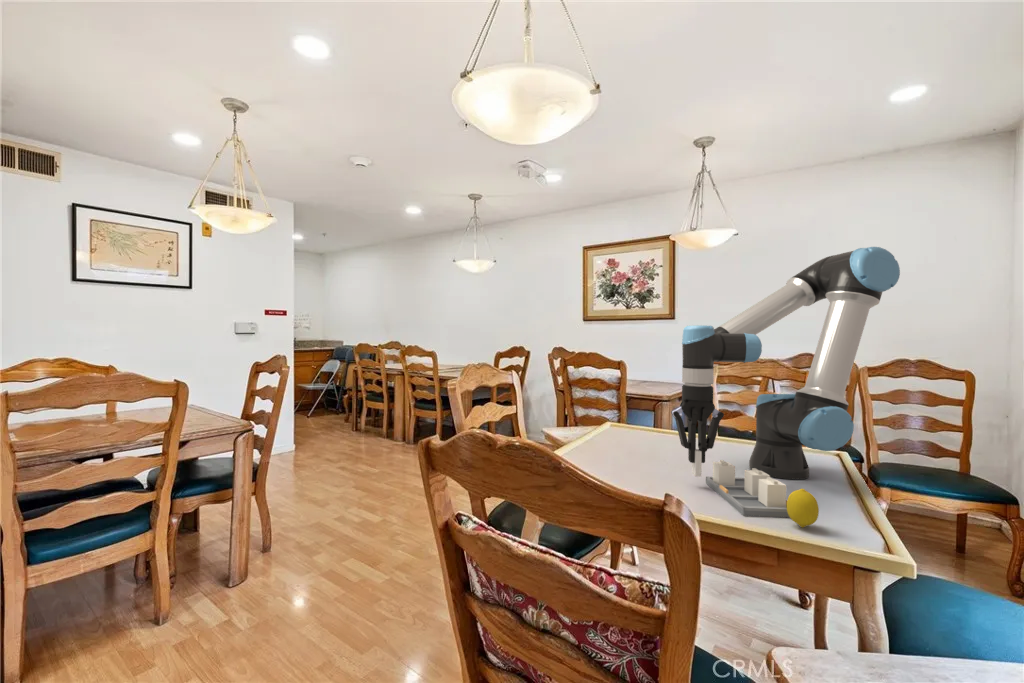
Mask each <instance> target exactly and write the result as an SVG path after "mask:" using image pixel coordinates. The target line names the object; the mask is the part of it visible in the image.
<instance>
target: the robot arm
mask: <svg viewBox="0 0 1024 683" xmlns="http://www.w3.org/2000/svg"><path fill="white" fill-rule="evenodd" d="M900 269H901V268H900V264H899V262H898V260H896V258H895V255H894V254H893V253H891V252H890V251H889V250H887V249H886V248H883V247H880V246H868V247H859V248H857V249H855V250H850V251H847V252H842V253H838V254H834V255H830V256H827V257H826V256H825V257H824V258H822V259H819V260H818V261H816V262H814V263H812V264H810V266H808V267H806V268H804V269H803V270H801V271H799V272H798V273H796V274H795V275H793V276H792V277H790V278H789V279H787V281H786V283H785V285H784V286H782V287H781V288H779V289H777V290H775V291H774V292H773V293H771V294H769V295H767V296H766V297H764V298H763V299H762V300H760V301H757V302H756V303H755V304H753V305H752V306H750V307H749V308H746V309H745V310H744V311H742V312H740V313H738V314H737V315H735V316H734V317H732V318H730V319H728V320H727V321H725V322H724V323H723V324H721V325H719V326H717V327H716V328H715V327H714V326H713V325H708V324H707V325H702V324H701V325H698V324H697V325H693V324H692V325H686V326H685V327H683V329H682V341H681V344H682V345H681V346H682V369H681V370H682V371H681V373H682V374H681V375H682V376H681V377H682V379H681V380H682V381H681V382H682V383H683V384H682V385H681V402H680V404H679V407H678V408H676V409H672V410H671V411H670V413H671V415H672V416H673V418H674V420H675V426H676V429H677V432H678V438H679V440H680V441H679V442H680V445H681V446H682V447H683V448H685V449H688V450H687V451H688V452H687V454H688V461H689V463H691V474H692V475H693V476H694V477H697V478H700V477H702V464H704V463H705V462H706V452H707V451H708V450H712V449H713V448H714V446H715V442H716V438H717V433H718V430H719V426H720V422H721V421H722V419H723V418H724V416H725V414H724V412H722V411H720V410H718V409H717V408H716V406H715V404H714V387H713V384H714V366H715V365H714V363H720V362H721V363H744V364H745V363H753V362H756V361H758V360H759V359H760V357H761V354H762V353H763V349H762V348H763V344H762V341H761V338H760V337H759V335H757V334H759V333H761V332H762V331H764V330H766V329H767V328H769V327H770V326H772V325H774V324H776V323H778V322H779V321H781V320H782V319H783V318H785V317H787V316H790V315H791V314H792V313H794V312H796V311H797V310H798V309H800V308H802V307H803V306H804V307H810V306H812V305H813V304H815V303H817V302H820V301H823V300H824V299H827V300H828V302H829V306H828V309H827V312H826V316H825V318H824V321H823V322H824V323H823V324H822V329H821V332H820V335H819V339H818V342H817V346H816V349H815V351H814V354H813V359H812V361H811V365H810V368H809V372H808V374H807V378H806V382H805V384H804V386H803V387H802V388H800V389H797V390H796V392H795V393H761V394H759V395H758V396H757V398H756V403H755V404H756V405H755V408H756V409H755V410H756V412H755V413H756V416H755V417H756V420H755V421H756V422H755V423H756V424H755V425H756V427H755V430H756V431H755V433H756V434H755V445H754V448H753V451H752V452H751V456H750V458H749V462H748V468H749V470H752V468H756V469H757V470H759V471H763V472H765V473H766V474H768V475H770V477H771V478H777V479H785V480H804V479H808V478H810V467H809V464H808V461H807V459H806V455H805V452H804V450H803V446H804V447H807V448H808V449H809V448H810V449H811V450H818V451H823V452H831V451H836V450H838V449H839V448H842V447H844V446H845V445H846V444H847V443H848V442H849V441H850V440H851V438H852V436H853V434H854V430H855V425H854V421H853V420H852V418H853V417H852V415H850V413H849V412H848V408H849V405H850V404H849V402H848V401H847V400H846V398H845V393H846V389H847V386H848V382H849V380H850V376H851V373H852V368H853V365H854V363H855V359H856V356H857V353H858V350H859V346H860V343H861V339H862V336H863V332H864V329H865V326H866V322H867V319H868V316H869V312H870V309H871V308H874V307H875V306H877V305H879V304H880V301H881V298H882V295H883V292H886V291H889V290H890V289H892V288H894V287H895V286H896V284H898V282H899V279H900V274H901V270H900ZM683 414H684V415H685V417H686V418H687V433H686V428H685V424H684V421H683V418H682V417H683ZM710 416H712V417H711V419H710V422H709V428H708V431H707V425H708V419H709V417H710ZM696 447H697V448H696Z"/></svg>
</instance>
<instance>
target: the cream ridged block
mask: <svg viewBox="0 0 1024 683" xmlns="http://www.w3.org/2000/svg"><path fill="white" fill-rule="evenodd" d="M767 477H771V476H770V475H768V474H766V473H765V472H763V471H759V470H757V469H756V468H752V470H751V469H745V470H744V478H745V484H744V490H745V491H746V492H748V493H749V494H750V495H752V496H758V490H759V479H767Z"/></svg>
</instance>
